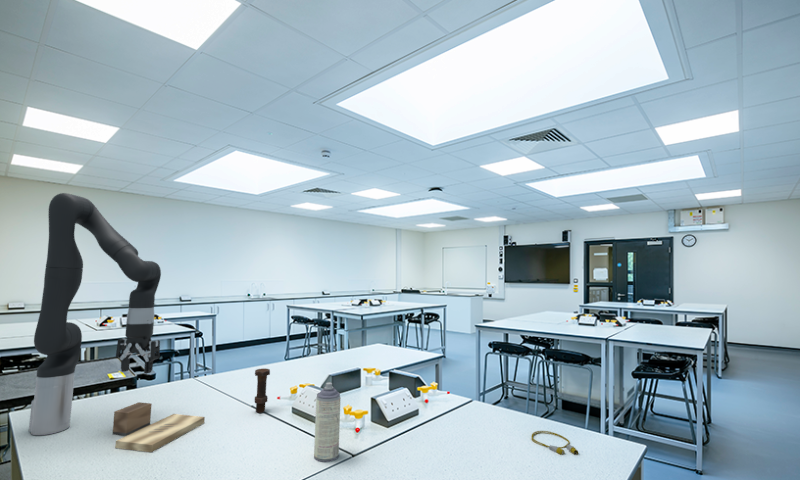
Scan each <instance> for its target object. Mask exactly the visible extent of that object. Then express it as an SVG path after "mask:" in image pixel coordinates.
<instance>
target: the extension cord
mask: <svg viewBox="0 0 800 480" xmlns="http://www.w3.org/2000/svg"><path fill="white" fill-rule="evenodd" d="M538 434H547V435H551V436H552V435H553V436H556V437H559V438H561V439H563V440H564V441H566V442H567V443H566V444H565V445H563V446H557V445H556V446H555V445H551V444H550V445H548V444H545V443H543V442H540V441H538V440H536V439H535V438H534V436H536V435H538ZM531 441H532V442H533V443H535V444H536V445H539V446H543V447H546V448H548V449H549V450H550V451H552V452H554V453H556V454H559V455H561V456H562V455H564V454H565V453H566V452H565V450H564V449H565V448H566V449H567V450H568V452H570V453H571V454H573V455H577V456H578V455H579V451H578V450H577V448H576V447H574V446H573V445H570V443H571V442H570V440H569V439H568V438H566V437H564V436H563V435H560V434H558V433H557V432H553V431H548V430H537V431H534V432H532V434H531Z"/></svg>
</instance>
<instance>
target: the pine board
mask: <svg viewBox="0 0 800 480" xmlns="http://www.w3.org/2000/svg"><path fill="white" fill-rule="evenodd" d="M205 419H206V417H205V416H199V415H188V414H181V413H178V414H177V413H172V414H170V415H169V416H166V417H164V418H161V419H159V420H158V421H155V422H153V423H150V425H149V426H147V427H144V428H142V429H140V430H138V431H136V432H134V433H132V434H129V435H127V436H122V437H121V438H119V439H117V440H115V449H119V450H128V451H137V452H144V453H145V452H146V453H153V452H155V451H157V450H158V449H160V448H162V447H164V446H165V445H168V444H169V443H171V442H173V441H175V440H176V439H178V438H180V437H182V436H183V435H186V434H188V433H189V432H190V431H194V430H195V429H197V428H198V427H200V426H201V425H204V424H205Z"/></svg>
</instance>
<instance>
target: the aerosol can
mask: <svg viewBox="0 0 800 480" xmlns="http://www.w3.org/2000/svg"><path fill="white" fill-rule="evenodd" d="M340 418H341V393H340V392H339V391H338V390H337V389H336V388H335V387H334V386H333V383H332V382H326V383H325V386H324V387H323V388H322V389H321V390H320V391H319V392H318V393H316V398H315V421H314V422H315V423H314V443H313V444H314V450H313V459H314V460H315V461H317V462H320V463H321V462H322V463H329V462H333V461H335V460H337V459H338V458H339V452H340V450H339V449H340V425H341V424H340V423H341V419H340Z"/></svg>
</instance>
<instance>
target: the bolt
mask: <svg viewBox="0 0 800 480" xmlns="http://www.w3.org/2000/svg"><path fill="white" fill-rule="evenodd" d="M254 375H255V376H256V378H257V379H256V380H257V384H256V396H254V403H255V412H256V413H258V414H262V413H264V412H265V411H266V403H267V402H268V395H267V379H268V376H270V375H271V370H270V369H269V368H264V367H263V368H256V369H255V370H254Z"/></svg>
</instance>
